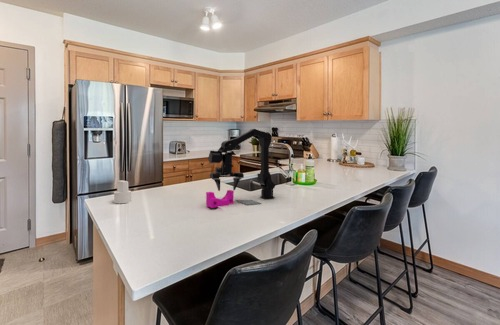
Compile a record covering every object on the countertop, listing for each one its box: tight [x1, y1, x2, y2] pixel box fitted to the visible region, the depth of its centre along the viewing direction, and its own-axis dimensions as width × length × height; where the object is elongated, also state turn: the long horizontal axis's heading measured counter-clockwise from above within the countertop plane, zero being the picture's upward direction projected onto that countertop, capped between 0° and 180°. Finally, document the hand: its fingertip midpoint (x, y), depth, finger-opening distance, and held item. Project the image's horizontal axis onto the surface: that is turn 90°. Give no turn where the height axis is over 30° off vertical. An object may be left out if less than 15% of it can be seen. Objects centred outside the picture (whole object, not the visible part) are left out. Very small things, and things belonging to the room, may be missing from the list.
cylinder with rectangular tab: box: [113, 180, 132, 204], centre depth 153 cm, size 9×9×12 cm
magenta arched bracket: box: [205, 189, 235, 209], centre depth 146 cm, size 15×6×8 cm, turn 125°
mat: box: [235, 199, 262, 206], centre depth 154 cm, size 9×18×1 cm, turn 28°
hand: (226, 190), depth 150 cm, fingers open, 9 cm apart
